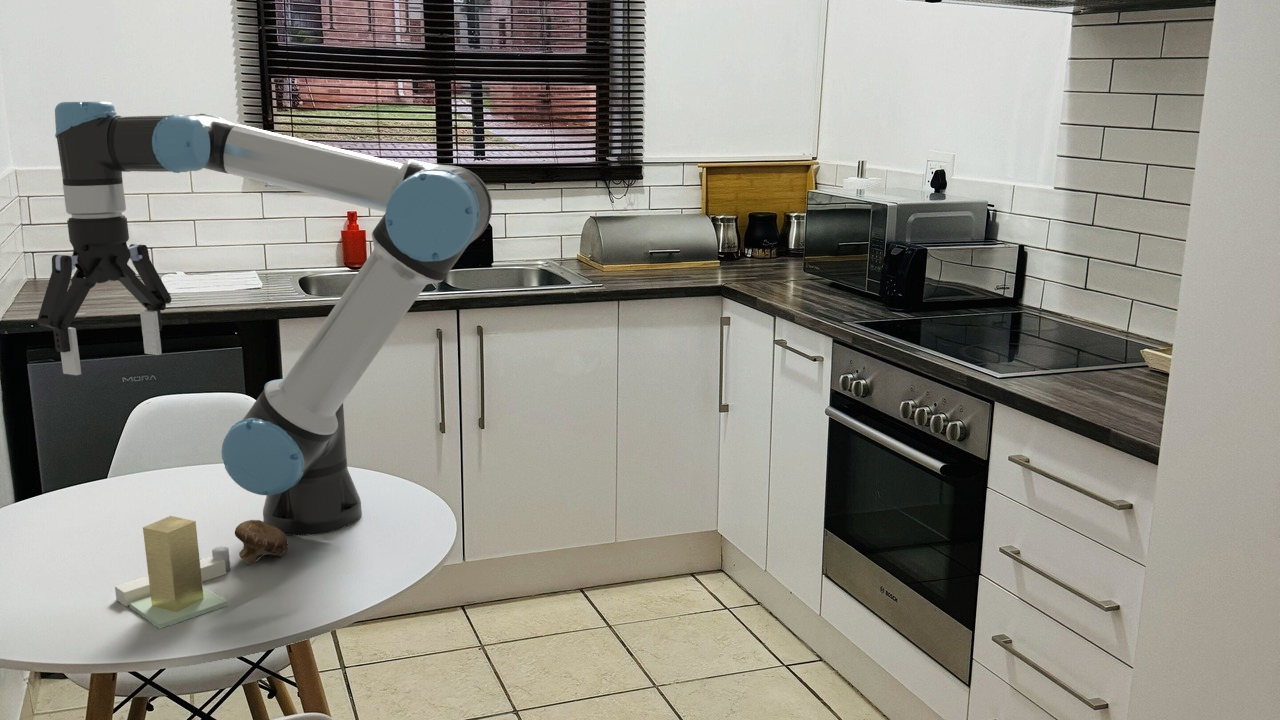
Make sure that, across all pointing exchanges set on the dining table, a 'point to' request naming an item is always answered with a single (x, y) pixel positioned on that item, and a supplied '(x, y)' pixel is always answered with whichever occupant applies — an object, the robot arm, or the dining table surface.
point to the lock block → (173, 563)
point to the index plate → (168, 617)
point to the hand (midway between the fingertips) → (114, 363)
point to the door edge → (209, 569)
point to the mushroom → (260, 540)
